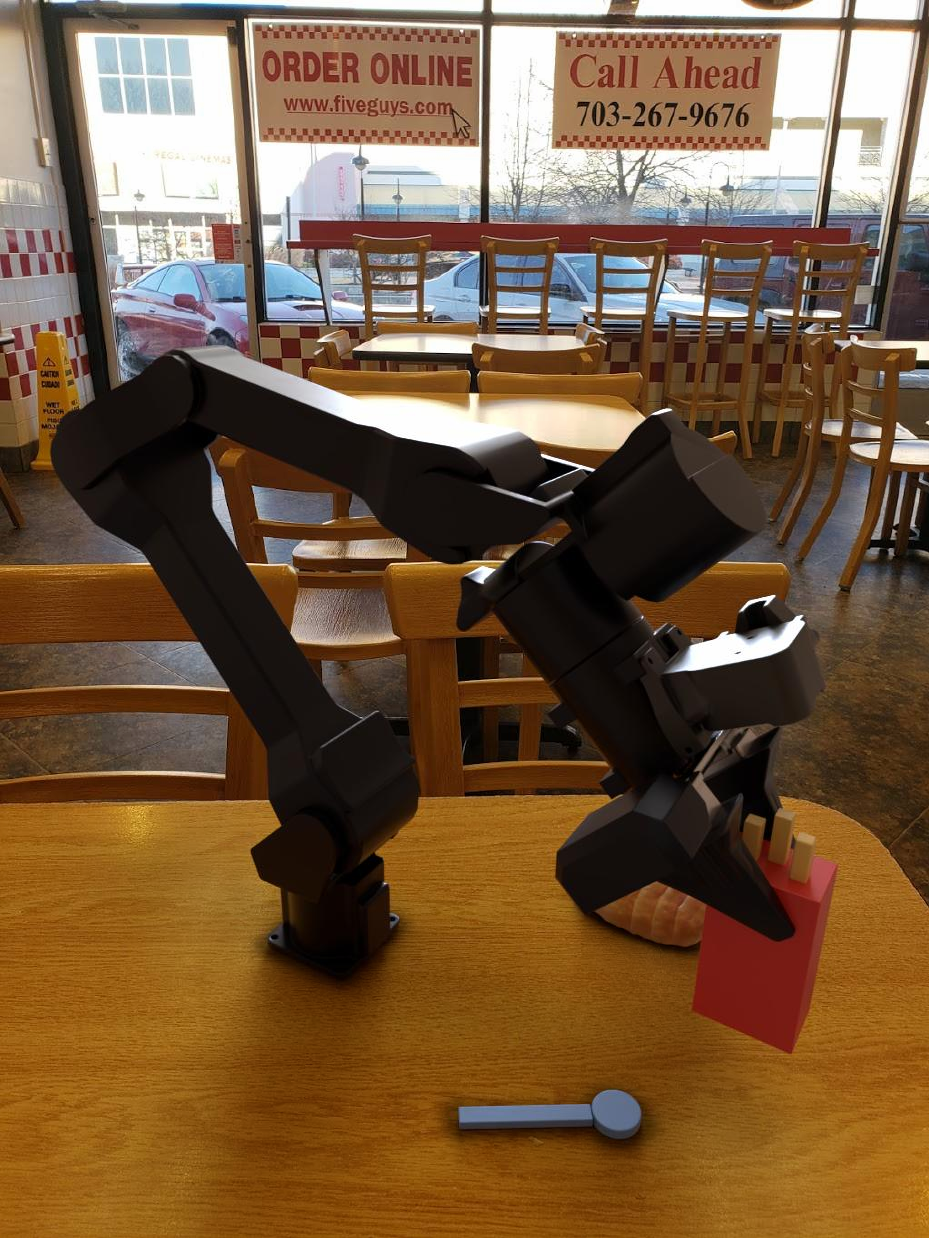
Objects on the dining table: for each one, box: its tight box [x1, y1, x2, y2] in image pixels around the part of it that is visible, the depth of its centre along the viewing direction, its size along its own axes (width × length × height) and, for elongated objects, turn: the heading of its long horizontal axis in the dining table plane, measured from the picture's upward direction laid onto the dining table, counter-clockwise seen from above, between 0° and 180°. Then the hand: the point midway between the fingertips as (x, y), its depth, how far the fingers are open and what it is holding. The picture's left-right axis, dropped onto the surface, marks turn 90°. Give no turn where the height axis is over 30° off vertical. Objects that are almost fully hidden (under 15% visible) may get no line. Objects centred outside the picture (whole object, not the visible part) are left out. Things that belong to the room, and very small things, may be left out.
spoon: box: [457, 1089, 642, 1140], centre depth 49 cm, size 10×3×1 cm, turn 92°
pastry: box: [594, 881, 706, 948], centre depth 65 cm, size 9×7×4 cm
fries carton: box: [691, 808, 839, 1055], centre depth 45 cm, size 5×3×12 cm
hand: (796, 914), depth 44 cm, fingers closed on fries carton, 3 cm apart
